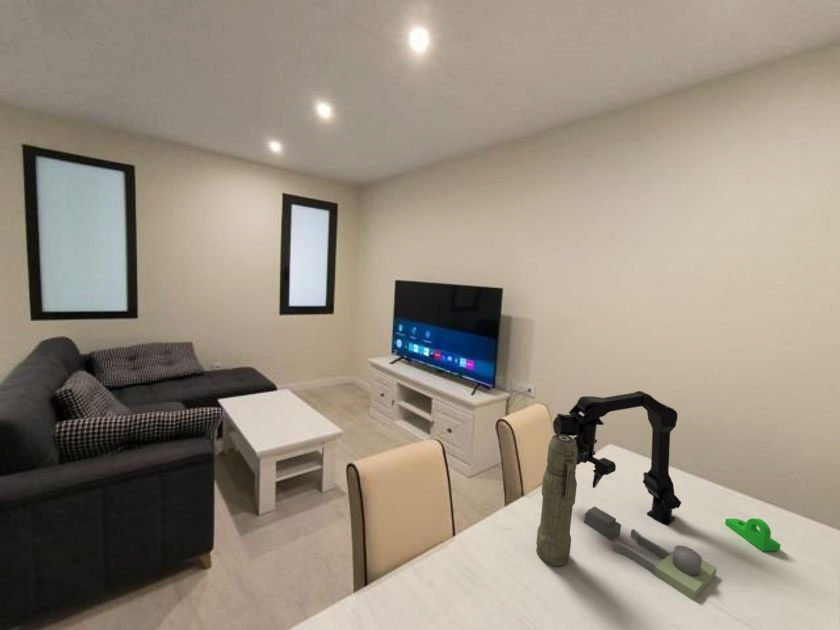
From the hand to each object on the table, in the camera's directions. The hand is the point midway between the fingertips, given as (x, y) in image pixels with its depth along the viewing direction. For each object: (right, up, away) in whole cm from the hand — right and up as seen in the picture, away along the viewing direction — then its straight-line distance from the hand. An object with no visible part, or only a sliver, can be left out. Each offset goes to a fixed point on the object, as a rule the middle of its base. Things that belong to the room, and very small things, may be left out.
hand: (580, 480), depth 119 cm
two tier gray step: (+4, -13, -5) cm, 15 cm away
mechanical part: (+54, -17, -4) cm, 56 cm away
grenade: (-16, -13, -18) cm, 28 cm away
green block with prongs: (+15, -15, -18) cm, 28 cm away
